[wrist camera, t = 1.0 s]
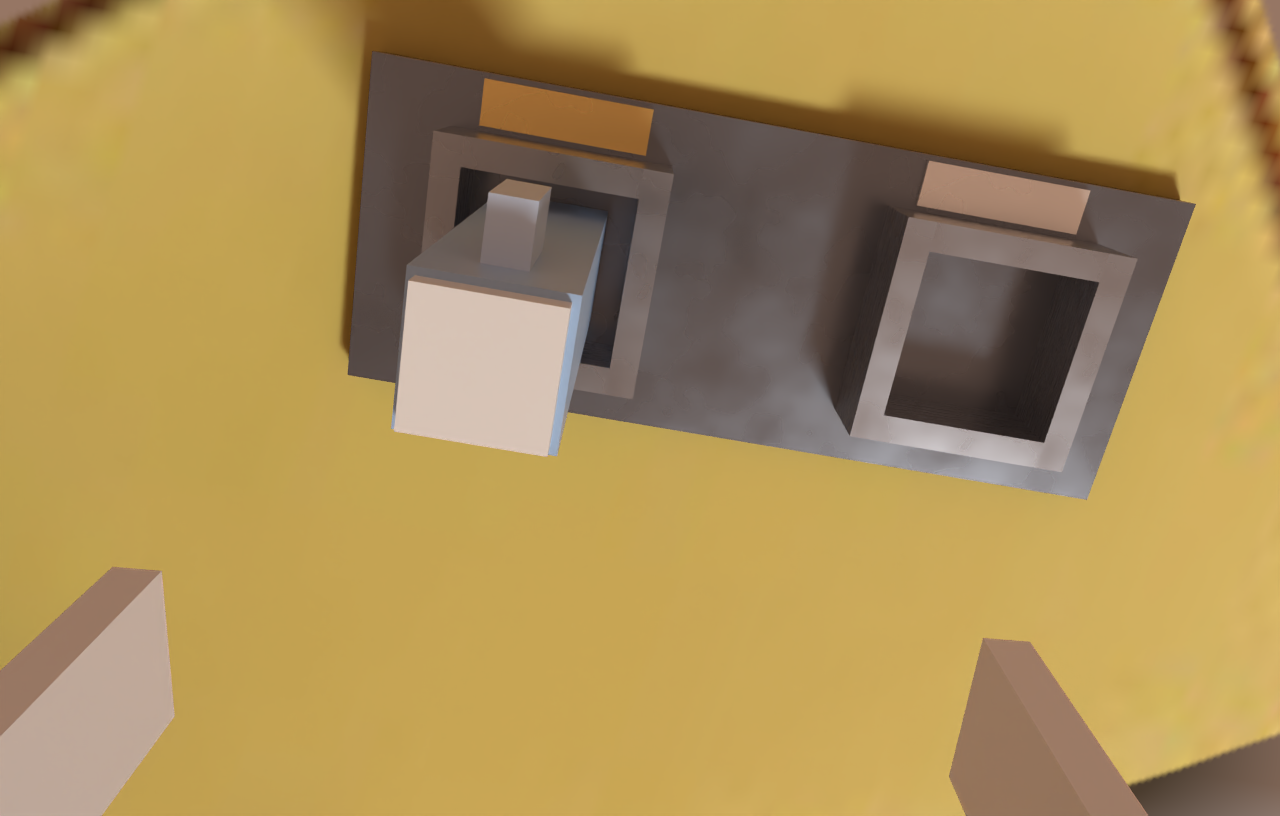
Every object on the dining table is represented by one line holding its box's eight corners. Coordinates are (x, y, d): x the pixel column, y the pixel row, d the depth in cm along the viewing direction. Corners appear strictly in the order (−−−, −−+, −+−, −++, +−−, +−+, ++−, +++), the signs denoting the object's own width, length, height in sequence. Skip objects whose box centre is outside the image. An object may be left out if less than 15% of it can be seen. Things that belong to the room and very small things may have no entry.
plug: (487, 297, 36) (384, 437, 22) (506, 144, 34) (407, 192, 20) (591, 316, 36) (554, 465, 22) (615, 164, 34) (592, 225, 20)
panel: (355, 367, 38) (322, 399, 34) (380, 51, 34) (346, 49, 30) (1076, 489, 39) (1121, 533, 35) (1181, 200, 35) (1244, 215, 31)
